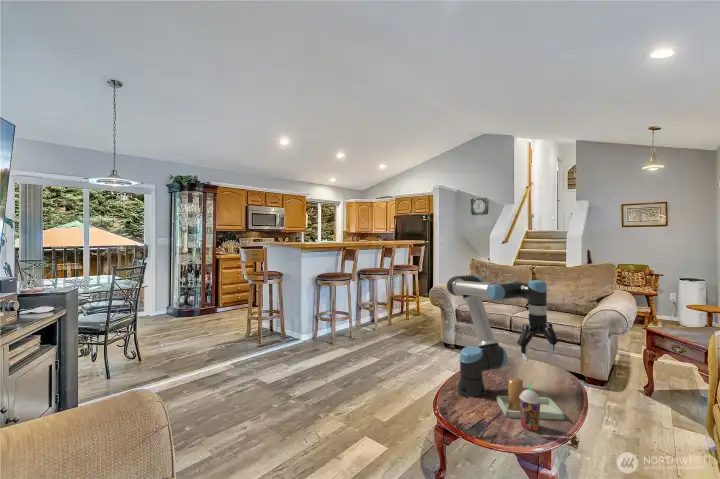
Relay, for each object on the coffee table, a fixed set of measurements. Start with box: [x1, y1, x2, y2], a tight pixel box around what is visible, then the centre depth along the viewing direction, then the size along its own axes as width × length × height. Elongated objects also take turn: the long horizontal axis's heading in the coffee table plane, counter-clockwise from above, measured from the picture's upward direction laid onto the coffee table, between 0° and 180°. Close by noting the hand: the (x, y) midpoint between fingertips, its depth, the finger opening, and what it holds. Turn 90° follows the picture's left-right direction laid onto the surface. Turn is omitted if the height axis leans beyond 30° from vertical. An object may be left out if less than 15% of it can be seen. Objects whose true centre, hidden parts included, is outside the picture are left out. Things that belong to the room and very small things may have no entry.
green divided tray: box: [496, 395, 566, 421], centre depth 162 cm, size 26×15×4 cm, turn 84°
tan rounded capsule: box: [507, 376, 524, 411], centre depth 163 cm, size 6×6×14 cm
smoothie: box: [519, 383, 541, 432], centre depth 148 cm, size 8×8×20 cm
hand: (537, 358), depth 158 cm, fingers open, 13 cm apart
